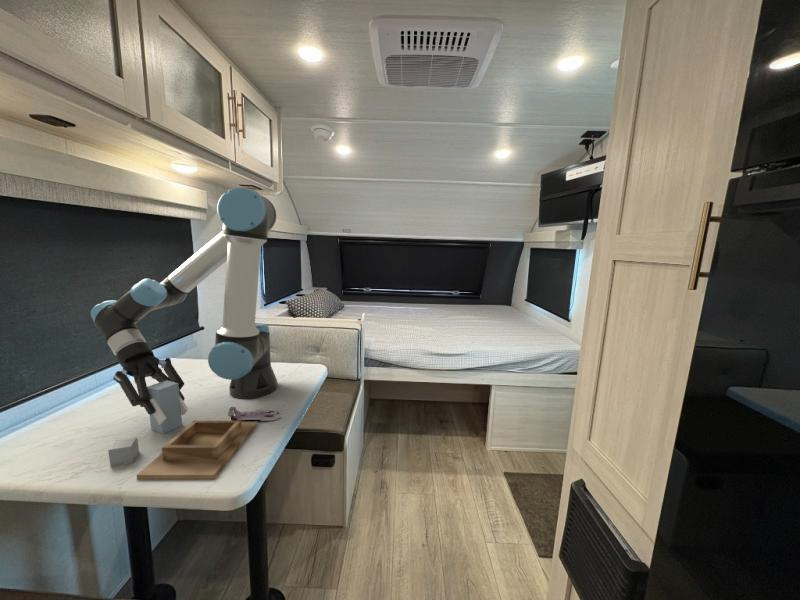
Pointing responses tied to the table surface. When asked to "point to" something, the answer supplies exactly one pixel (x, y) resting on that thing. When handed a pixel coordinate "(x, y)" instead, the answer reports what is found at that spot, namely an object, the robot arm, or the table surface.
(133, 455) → the grey block
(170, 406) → the block
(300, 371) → the table surface
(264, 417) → the pink elongated piece
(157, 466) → the tray
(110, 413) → the table surface
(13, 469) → the table surface
